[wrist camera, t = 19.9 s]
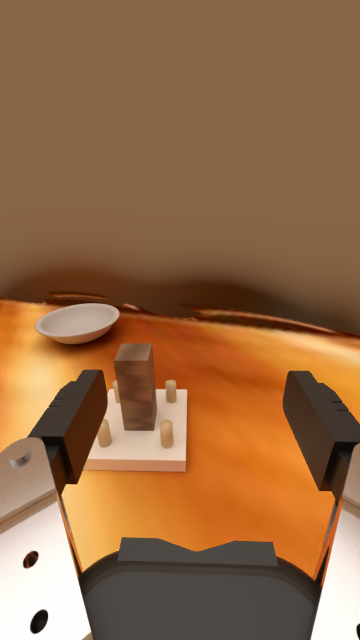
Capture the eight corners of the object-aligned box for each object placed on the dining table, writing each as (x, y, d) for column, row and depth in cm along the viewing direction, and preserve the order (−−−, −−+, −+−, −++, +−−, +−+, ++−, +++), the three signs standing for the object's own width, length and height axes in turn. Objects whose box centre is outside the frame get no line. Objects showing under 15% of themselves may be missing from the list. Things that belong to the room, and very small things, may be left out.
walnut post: (157, 409, 48) (152, 343, 42) (153, 430, 43) (147, 360, 38) (130, 409, 48) (121, 343, 42) (124, 430, 44) (113, 360, 38)
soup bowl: (137, 331, 83) (135, 312, 80) (70, 367, 65) (64, 345, 63) (91, 315, 96) (88, 298, 93) (25, 341, 79) (19, 322, 76)
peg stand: (187, 399, 54) (186, 373, 51) (185, 471, 39) (185, 441, 37) (111, 398, 55) (107, 373, 52) (82, 469, 40) (74, 439, 37)
